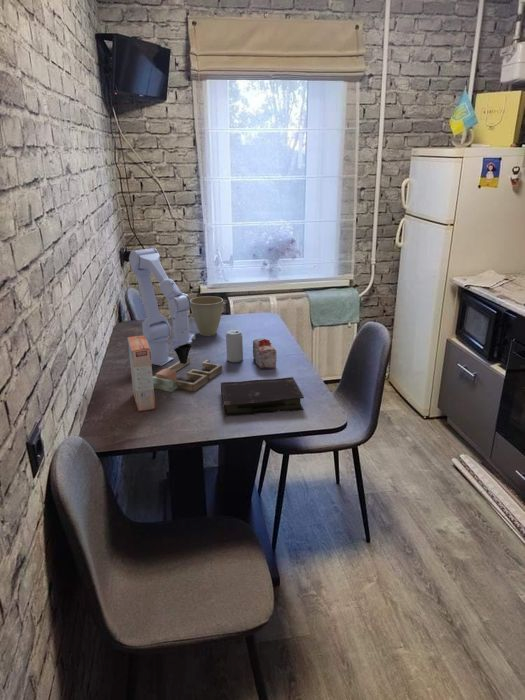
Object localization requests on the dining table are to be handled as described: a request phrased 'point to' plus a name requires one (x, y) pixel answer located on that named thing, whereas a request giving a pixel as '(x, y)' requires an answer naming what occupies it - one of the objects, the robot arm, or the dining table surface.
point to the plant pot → (207, 313)
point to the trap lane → (188, 377)
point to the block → (167, 374)
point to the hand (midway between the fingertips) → (183, 362)
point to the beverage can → (234, 345)
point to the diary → (261, 396)
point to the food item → (264, 353)
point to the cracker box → (141, 372)
